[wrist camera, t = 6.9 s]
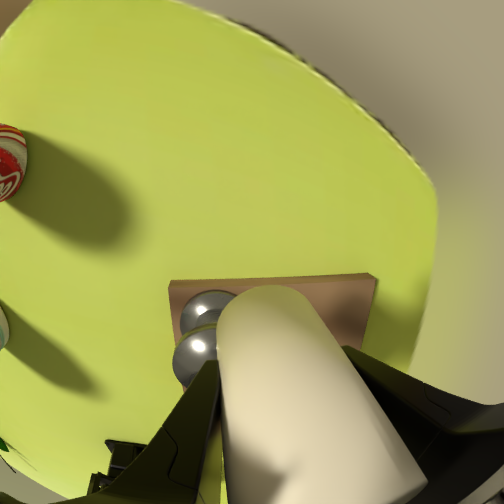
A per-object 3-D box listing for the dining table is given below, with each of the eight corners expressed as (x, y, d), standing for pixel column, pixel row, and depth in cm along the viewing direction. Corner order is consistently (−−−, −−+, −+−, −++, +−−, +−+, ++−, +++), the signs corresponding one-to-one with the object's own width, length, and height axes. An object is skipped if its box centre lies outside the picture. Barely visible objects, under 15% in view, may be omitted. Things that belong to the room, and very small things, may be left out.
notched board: (331, 417, 29) (335, 425, 27) (194, 432, 27) (194, 441, 25) (367, 272, 23) (375, 278, 22) (170, 280, 21) (168, 287, 19)
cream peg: (310, 362, 11) (385, 518, 4) (219, 372, 11) (238, 554, 3) (320, 281, 10) (462, 450, 2) (213, 287, 10) (223, 529, 2)
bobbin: (251, 348, 22) (261, 395, 17) (184, 350, 21) (179, 397, 16) (252, 288, 20) (265, 328, 15) (177, 290, 20) (166, 330, 14)
